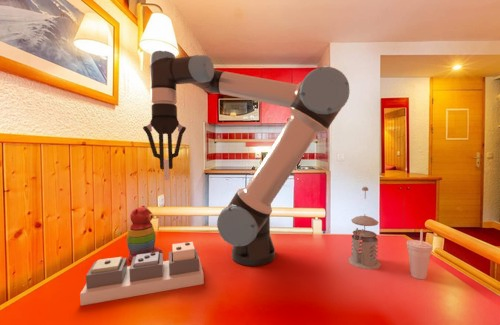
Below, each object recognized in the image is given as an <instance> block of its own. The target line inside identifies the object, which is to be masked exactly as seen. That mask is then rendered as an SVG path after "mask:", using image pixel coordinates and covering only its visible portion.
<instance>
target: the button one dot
mask: <svg viewBox="0 0 500 325" xmlns="http://www.w3.org/2000/svg"><path fill="white" fill-rule="evenodd" d="M122 258H123V256H118V257H117V256H116V257H108V258H103V259H102V258H100V259H97V261H95V262H96V264H95V265H94V267H93V269H92V273H98V272H105V271H112V270H119V268H120V266H121V263H122Z"/></svg>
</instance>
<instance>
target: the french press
mask: <svg viewBox="0 0 500 325" xmlns="http://www.w3.org/2000/svg"><path fill="white" fill-rule="evenodd" d="M361 191H363V192H364V198H366V197H367V195H366V194H367V193H366V192H367V191H369V187H367V186H363V187H362V188H361ZM351 223H352V224H355V225H358V226H362V227H363V228H362V229H359V228H358V227H357V228H356V229H355V230H353V231H352V233H353V234H352V235H351V256H350V257H349V258H348V262H349V264H351V265H352V266H354V267H356V268H358V269H364V270H377V269H379V268H381V265H382V264H381V262H379V260H378V249H379V248H378V247H379V246H378V244H379V242H378V241H379V239H378V238H377V235H378V234H377V233H376V232H374V231H371V230H366V227H373V226H374V227H375V226H377V225H378V224H379V221H378V220H377V219H375V218H374V217H371V216H367V215H359V216H355V217H353V218H352V219H351Z"/></svg>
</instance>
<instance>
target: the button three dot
mask: <svg viewBox="0 0 500 325" xmlns="http://www.w3.org/2000/svg"><path fill="white" fill-rule="evenodd" d="M154 264H159V252H154V253H146V254H138V255H137V256H136V259H135V263H134V267H140V266H147V265H154Z"/></svg>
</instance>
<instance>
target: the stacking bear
mask: <svg viewBox="0 0 500 325" xmlns="http://www.w3.org/2000/svg"><path fill="white" fill-rule="evenodd" d="M153 217H154V215H153V212H152V211H151V210H150V209H149V208H148V207H145V205H142V206H140V207H135V208H134V209H132V211H131V213H130V216H129V218H130V221H131V223H132V224H131V225H130V226H129V228H128V231H127V236H126V245H127V247H128V252H129V254H128V257H127V260H128V261H130V262H131V263H132V259H133V257H135V256H137V255H138V254H146V253H154V252H159V253H163V250H162V249H161V247H157V246H155V245H156V244H155V243H156V236H157V235H156V231H155V229H154V225H153V223H152V222H151V221H152V220H153Z"/></svg>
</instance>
